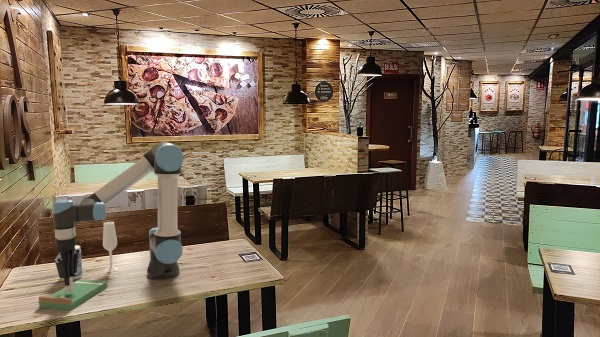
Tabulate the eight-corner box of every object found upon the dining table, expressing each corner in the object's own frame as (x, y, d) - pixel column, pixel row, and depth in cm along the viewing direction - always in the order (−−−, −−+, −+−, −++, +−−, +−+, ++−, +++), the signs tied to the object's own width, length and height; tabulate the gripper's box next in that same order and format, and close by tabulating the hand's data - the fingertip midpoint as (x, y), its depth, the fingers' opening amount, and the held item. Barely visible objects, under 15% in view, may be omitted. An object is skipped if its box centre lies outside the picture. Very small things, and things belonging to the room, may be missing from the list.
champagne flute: (119, 266, 222) (116, 220, 219) (118, 271, 216) (115, 224, 213) (104, 268, 220) (102, 221, 217) (103, 272, 214) (100, 225, 211)
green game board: (107, 286, 197) (106, 277, 196) (70, 310, 173) (69, 299, 173) (79, 284, 199) (78, 275, 199) (39, 307, 176) (38, 297, 175)
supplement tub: (83, 278, 206) (81, 248, 204) (61, 283, 201) (58, 252, 199) (81, 272, 214) (79, 243, 212) (59, 276, 209) (57, 246, 207)
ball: (68, 298, 179) (63, 305, 177) (68, 298, 181) (64, 305, 180) (60, 295, 178) (56, 302, 176) (61, 294, 181) (56, 302, 179)
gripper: (68, 232, 187) (72, 285, 190) (45, 241, 174) (50, 297, 177) (84, 233, 185) (87, 286, 188) (62, 242, 173) (66, 299, 176)
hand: (69, 291), depth 183 cm, fingers closed
